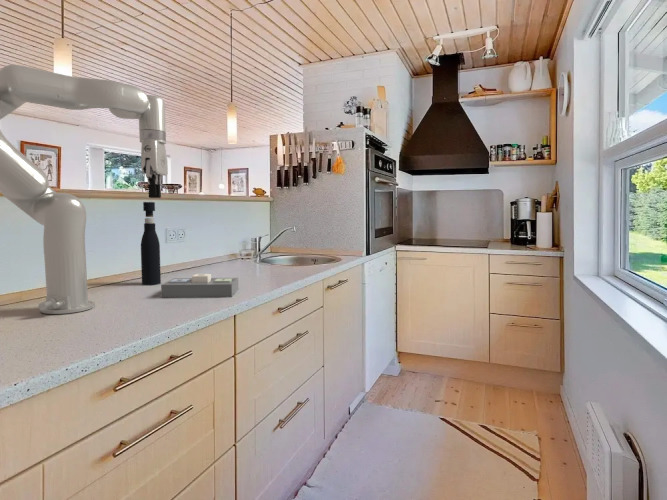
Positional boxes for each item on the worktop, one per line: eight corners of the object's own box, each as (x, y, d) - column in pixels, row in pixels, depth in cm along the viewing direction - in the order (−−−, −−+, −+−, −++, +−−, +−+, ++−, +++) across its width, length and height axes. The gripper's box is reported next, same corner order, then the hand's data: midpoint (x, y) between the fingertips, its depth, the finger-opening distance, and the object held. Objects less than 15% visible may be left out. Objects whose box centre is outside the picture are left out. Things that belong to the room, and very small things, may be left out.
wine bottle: (163, 283, 156) (161, 202, 154) (146, 285, 152) (143, 201, 149) (156, 281, 161) (154, 202, 158) (139, 283, 156) (136, 202, 153)
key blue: (185, 290, 136) (185, 281, 136) (169, 290, 136) (169, 281, 135) (190, 287, 141) (189, 278, 141) (174, 287, 141) (174, 278, 140)
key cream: (207, 285, 136) (207, 275, 136) (191, 285, 136) (191, 276, 136) (211, 282, 141) (211, 273, 141) (196, 282, 141) (195, 273, 141)
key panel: (231, 296, 133) (231, 284, 133) (161, 297, 132) (161, 284, 131) (238, 289, 146) (238, 277, 146) (174, 289, 145) (174, 278, 144)
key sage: (229, 290, 137) (229, 280, 137) (214, 290, 137) (213, 280, 136) (232, 287, 142) (232, 278, 142) (217, 287, 142) (217, 278, 141)
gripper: (156, 133, 123) (158, 197, 125) (172, 142, 138) (174, 198, 140) (130, 133, 123) (132, 197, 124) (149, 141, 138) (151, 198, 139)
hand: (154, 197), depth 132 cm, fingers closed
